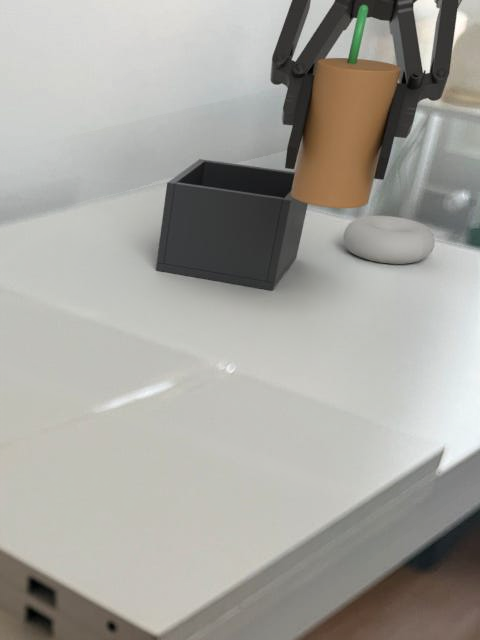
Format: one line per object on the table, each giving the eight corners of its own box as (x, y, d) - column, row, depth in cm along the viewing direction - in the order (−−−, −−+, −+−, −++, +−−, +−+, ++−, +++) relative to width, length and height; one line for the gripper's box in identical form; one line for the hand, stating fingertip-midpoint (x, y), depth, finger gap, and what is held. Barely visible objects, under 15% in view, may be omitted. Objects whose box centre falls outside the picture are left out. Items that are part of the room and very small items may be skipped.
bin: (296, 258, 115) (314, 174, 110) (272, 290, 106) (290, 200, 101) (187, 240, 119) (199, 158, 114) (155, 270, 110) (166, 182, 104)
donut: (364, 237, 124) (324, 252, 118) (372, 207, 122) (331, 220, 116) (444, 257, 118) (406, 273, 112) (453, 226, 116) (415, 240, 110)
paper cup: (379, 199, 88) (427, 7, 79) (349, 213, 83) (396, 12, 75) (310, 184, 91) (349, -1, 82) (277, 197, 86) (315, 3, 78)
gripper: (508, -45, 86) (451, 206, 84) (275, -61, 91) (214, 177, 88) (536, -124, 79) (474, 148, 76) (281, -137, 83) (215, 119, 81)
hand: (335, 163), depth 82 cm, fingers closed on paper cup, 6 cm apart
